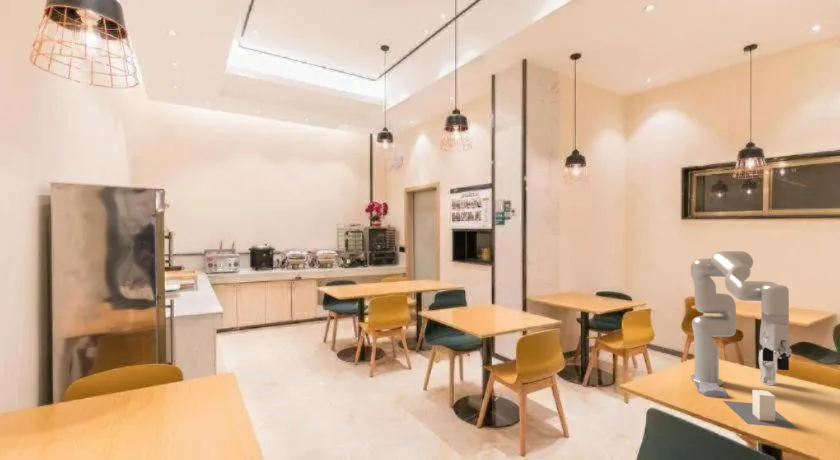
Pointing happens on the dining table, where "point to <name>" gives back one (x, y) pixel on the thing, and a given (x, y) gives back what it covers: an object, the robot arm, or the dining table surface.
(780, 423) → the charcoal mat
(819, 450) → the dining table surface
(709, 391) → the stone block
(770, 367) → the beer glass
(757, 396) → the cream block
